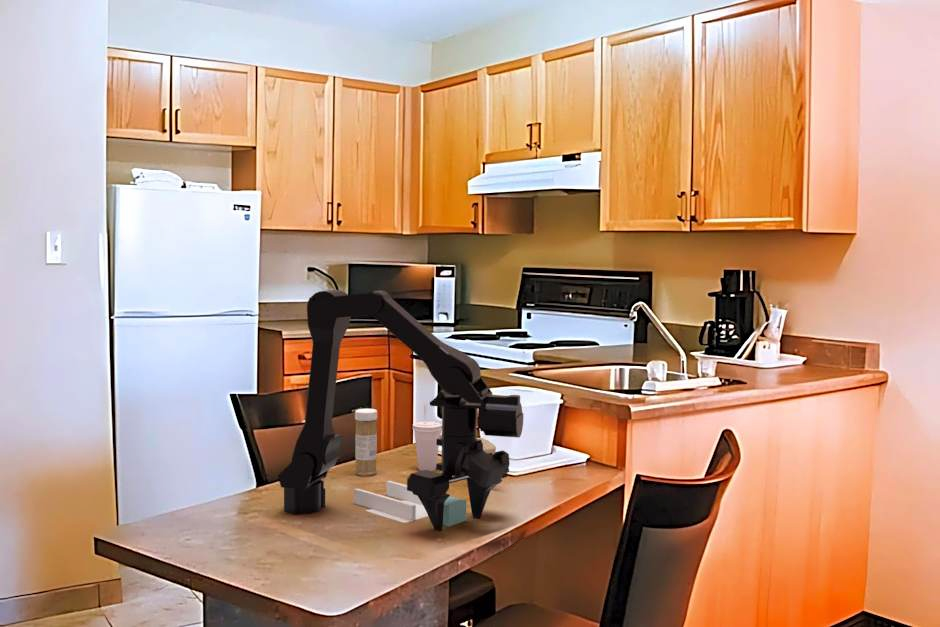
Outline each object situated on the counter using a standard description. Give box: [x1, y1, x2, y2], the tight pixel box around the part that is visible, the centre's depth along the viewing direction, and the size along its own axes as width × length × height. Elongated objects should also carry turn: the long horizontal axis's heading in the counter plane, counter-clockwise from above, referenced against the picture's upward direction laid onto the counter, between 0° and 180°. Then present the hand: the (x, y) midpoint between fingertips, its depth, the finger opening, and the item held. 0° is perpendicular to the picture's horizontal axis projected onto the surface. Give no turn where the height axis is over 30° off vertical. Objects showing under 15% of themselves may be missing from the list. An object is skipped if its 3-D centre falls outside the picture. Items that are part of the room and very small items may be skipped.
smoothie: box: [412, 403, 442, 472], centre depth 194 cm, size 6×6×14 cm
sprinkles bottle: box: [354, 408, 378, 477], centre depth 190 cm, size 5×5×13 cm
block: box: [430, 495, 467, 527], centre depth 153 cm, size 4×5×4 cm
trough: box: [353, 480, 429, 524], centre depth 161 cm, size 12×15×4 cm
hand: (457, 526), depth 152 cm, fingers open, 9 cm apart
